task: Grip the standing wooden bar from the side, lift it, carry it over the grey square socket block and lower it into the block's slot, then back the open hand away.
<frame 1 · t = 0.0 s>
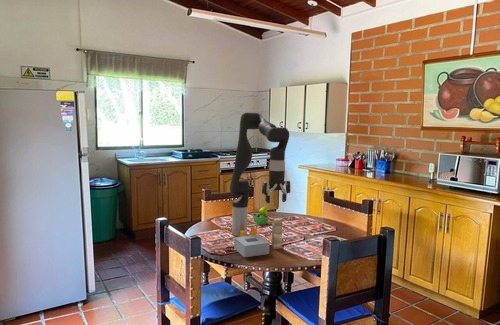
hand: (275, 202, 173), 29 cm above the table, tool pointing down, fingers open, 8 cm apart
pipe clamp: (249, 241, 206), on the table
grey square socket block: (251, 251, 189), on the table
fruit basket: (260, 223, 243), on the table
wooden bar: (276, 247, 195), on the table
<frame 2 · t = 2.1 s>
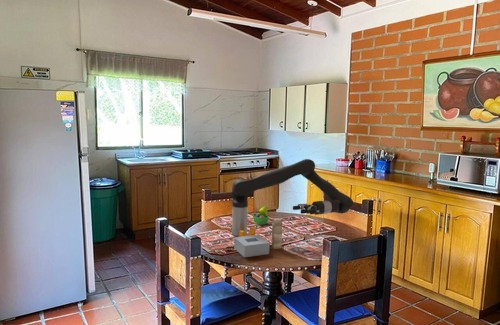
hand: (296, 209, 197), 20 cm above the table, tool horizontal, fingers open, 8 cm apart
nothing on the table moved.
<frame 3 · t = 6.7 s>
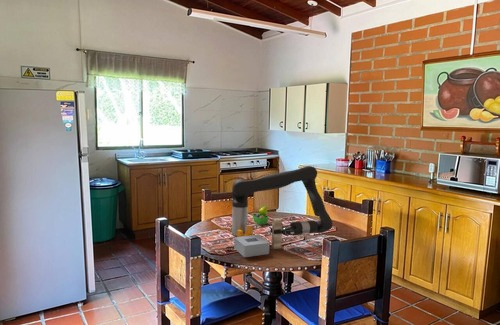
hand: (272, 231, 193), 10 cm above the table, tool horizontal, fingers closed on wooden bar, 3 cm apart
pipe clamp: (246, 239, 208), on the table
wooden bar: (276, 247, 195), on the table, touching gripper
everything else where it was.
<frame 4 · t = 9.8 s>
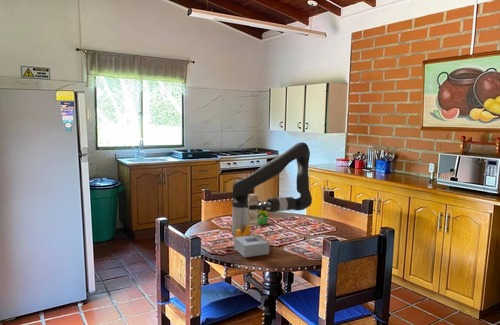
hand: (247, 207, 185), 24 cm above the table, tool horizontal, fingers closed on wooden bar, 3 cm apart
pipe clamp: (244, 239, 208), on the table
wooden bar: (252, 224, 187), point 14 cm above the table, touching gripper
everything else where it was.
when the fingers open (12 cm above the table, at t = 13.0 s): wooden bar drops 1 cm, resting on grey square socket block.
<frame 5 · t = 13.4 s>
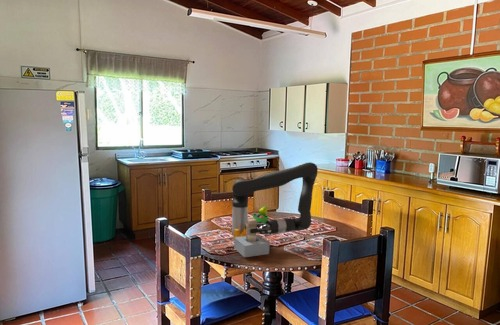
hand: (247, 229, 186), 12 cm above the table, tool horizontal, fingers open, 6 cm apart
wooden bar: (251, 249, 189), point 1 cm above the table, touching grey square socket block
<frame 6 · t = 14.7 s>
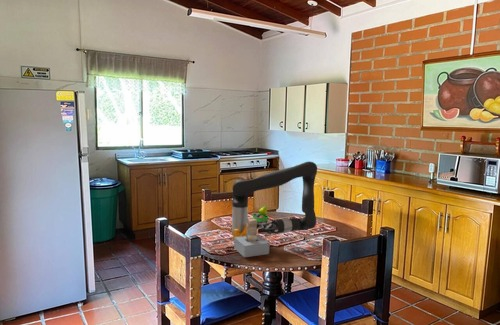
hand: (254, 228, 188), 12 cm above the table, tool horizontal, fingers open, 8 cm apart
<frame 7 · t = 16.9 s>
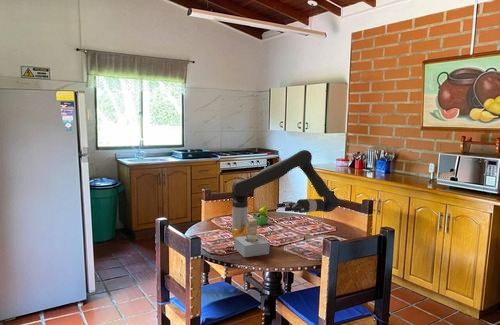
hand: (281, 207, 194), 22 cm above the table, tool horizontal, fingers open, 8 cm apart
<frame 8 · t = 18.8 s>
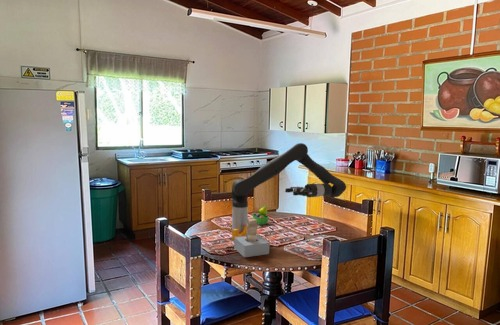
hand: (289, 191, 197), 30 cm above the table, tool horizontal, fingers open, 8 cm apart
at the end: wooden bar 0.1 cm off-centre on the grey square socket block, point 1.0 cm above the grey square socket block's base; wooden bar tilted 0°; the gripper is holding nothing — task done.
